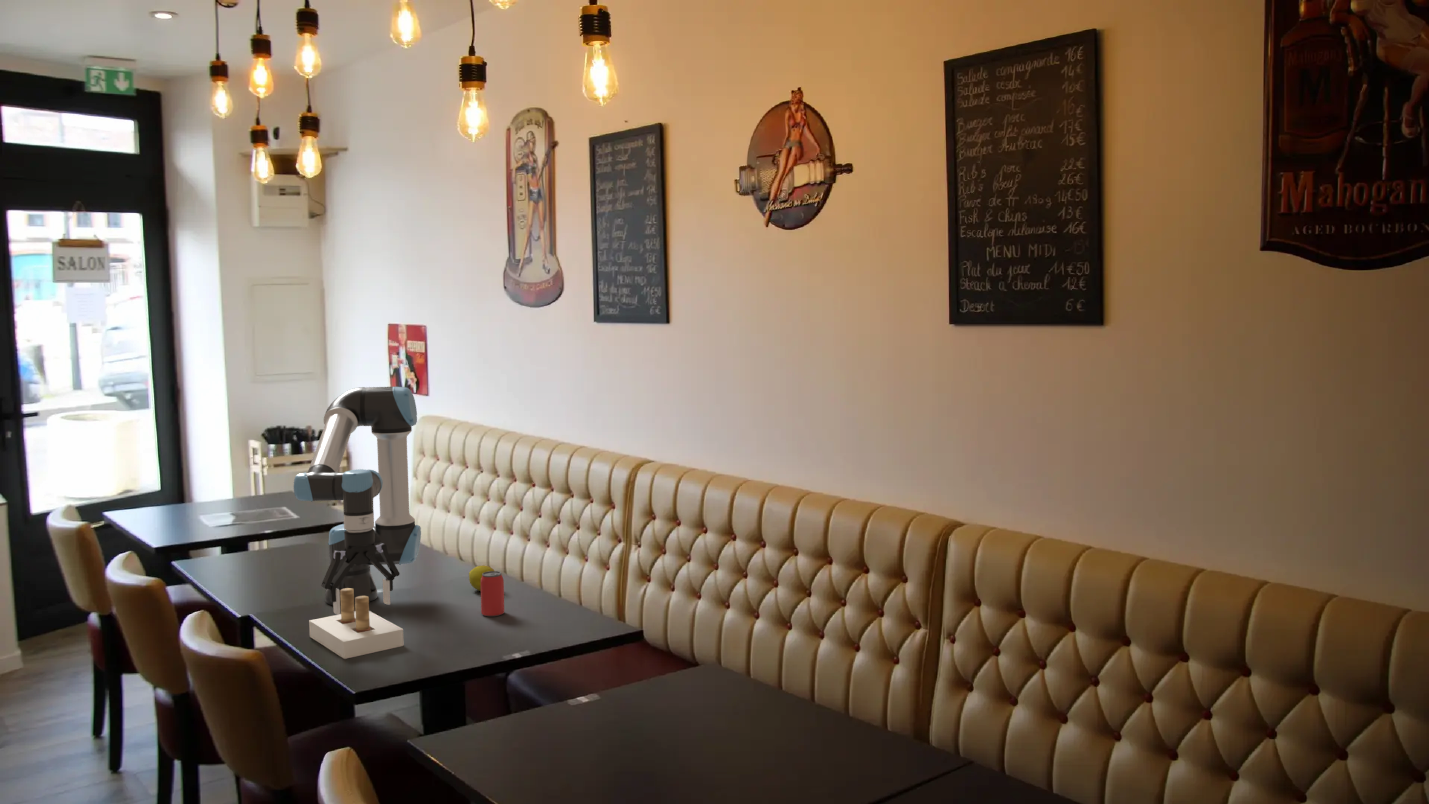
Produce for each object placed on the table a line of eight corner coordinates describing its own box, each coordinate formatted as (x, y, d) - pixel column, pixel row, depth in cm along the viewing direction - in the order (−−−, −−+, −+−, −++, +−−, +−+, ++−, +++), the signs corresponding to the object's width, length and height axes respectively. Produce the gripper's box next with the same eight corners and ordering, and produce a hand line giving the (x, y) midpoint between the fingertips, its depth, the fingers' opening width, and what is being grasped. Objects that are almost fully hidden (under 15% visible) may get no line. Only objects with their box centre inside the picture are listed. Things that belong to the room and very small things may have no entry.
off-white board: (366, 624, 308) (366, 609, 307) (403, 645, 289) (403, 629, 289) (309, 636, 297) (309, 620, 297) (344, 659, 279) (343, 641, 279)
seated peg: (352, 633, 300) (350, 587, 298) (357, 636, 297) (356, 590, 296) (339, 636, 297) (337, 589, 296) (344, 639, 295) (342, 592, 293)
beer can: (499, 617, 314) (498, 576, 313) (477, 616, 315) (476, 575, 314) (507, 611, 320) (507, 571, 319) (486, 610, 321) (485, 570, 320)
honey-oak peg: (367, 642, 292) (365, 594, 291) (372, 645, 289) (371, 597, 288) (354, 645, 290) (352, 597, 288) (359, 648, 287) (357, 600, 286)
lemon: (503, 592, 341) (502, 566, 340) (481, 596, 336) (480, 571, 335) (485, 585, 349) (485, 560, 348) (463, 589, 344) (463, 564, 343)
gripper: (317, 539, 276) (320, 621, 278) (410, 524, 292) (413, 602, 294) (306, 534, 281) (309, 614, 283) (398, 520, 297) (400, 596, 300)
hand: (362, 608), depth 289 cm, fingers open, 13 cm apart
